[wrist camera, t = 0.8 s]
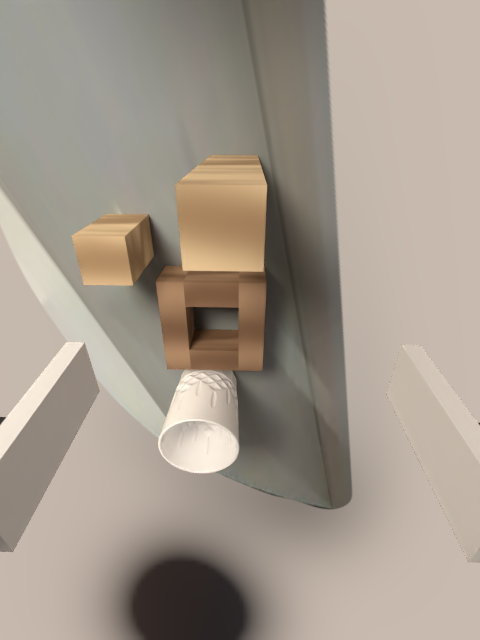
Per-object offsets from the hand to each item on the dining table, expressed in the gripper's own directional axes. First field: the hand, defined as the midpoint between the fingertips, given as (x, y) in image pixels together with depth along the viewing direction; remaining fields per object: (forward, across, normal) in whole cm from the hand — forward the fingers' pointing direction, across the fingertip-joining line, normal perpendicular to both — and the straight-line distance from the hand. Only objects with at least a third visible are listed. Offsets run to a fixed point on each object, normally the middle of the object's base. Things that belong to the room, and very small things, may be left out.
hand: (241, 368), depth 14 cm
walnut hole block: (+20, -3, -9) cm, 22 cm away
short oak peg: (+20, -11, -1) cm, 23 cm away
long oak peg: (+20, -1, +4) cm, 21 cm away
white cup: (+20, -4, -19) cm, 28 cm away
